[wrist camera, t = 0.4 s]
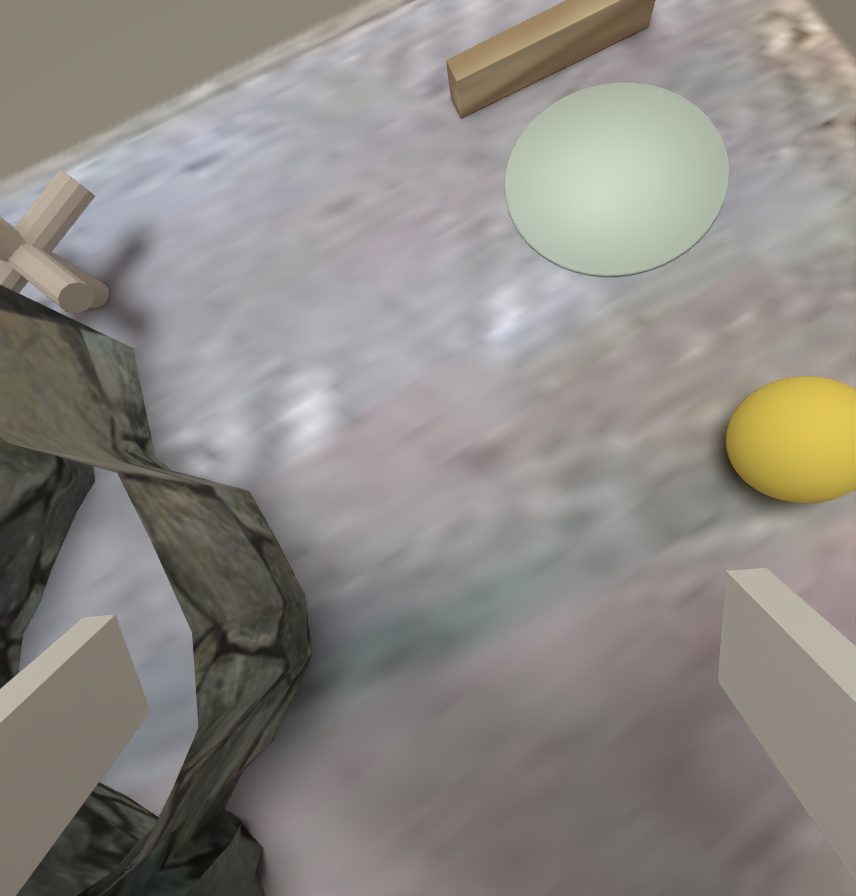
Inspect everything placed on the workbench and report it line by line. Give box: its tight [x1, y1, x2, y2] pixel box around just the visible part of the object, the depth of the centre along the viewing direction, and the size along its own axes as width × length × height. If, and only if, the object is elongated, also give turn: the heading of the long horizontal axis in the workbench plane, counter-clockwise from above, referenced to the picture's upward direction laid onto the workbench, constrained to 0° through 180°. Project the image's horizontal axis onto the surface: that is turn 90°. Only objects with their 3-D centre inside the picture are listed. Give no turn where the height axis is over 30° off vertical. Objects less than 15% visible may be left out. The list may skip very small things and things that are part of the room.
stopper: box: [446, 0, 655, 118], centre depth 28 cm, size 2×12×2 cm, turn 112°
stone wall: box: [0, 285, 311, 896], centre depth 23 cm, size 35×19×10 cm, turn 19°
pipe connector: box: [0, 170, 109, 314], centre depth 27 cm, size 10×10×10 cm
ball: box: [726, 376, 856, 503], centre depth 21 cm, size 6×6×6 cm
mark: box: [505, 83, 729, 276], centre depth 27 cm, size 12×12×1 cm
